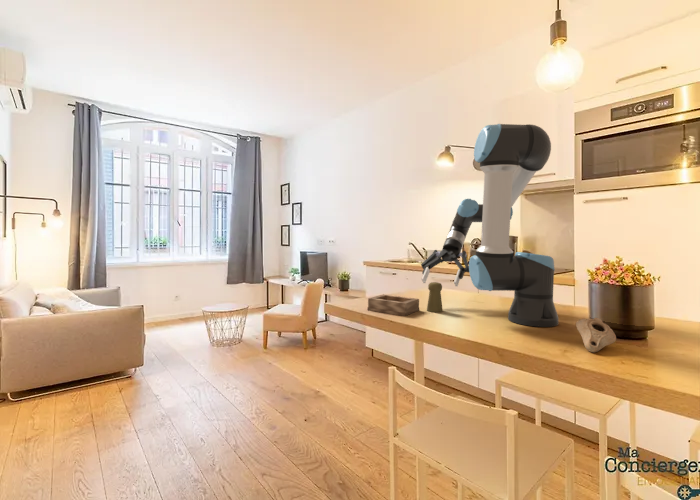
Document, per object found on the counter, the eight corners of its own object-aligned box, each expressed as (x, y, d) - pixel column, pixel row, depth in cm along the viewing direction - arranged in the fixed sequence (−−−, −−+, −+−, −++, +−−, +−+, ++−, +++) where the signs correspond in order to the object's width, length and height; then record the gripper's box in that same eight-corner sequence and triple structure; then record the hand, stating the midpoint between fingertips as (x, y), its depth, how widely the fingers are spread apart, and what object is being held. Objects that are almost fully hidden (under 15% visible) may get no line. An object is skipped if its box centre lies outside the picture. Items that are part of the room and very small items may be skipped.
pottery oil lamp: (569, 349, 91) (570, 322, 90) (578, 339, 99) (579, 314, 99) (611, 357, 85) (612, 328, 84) (617, 346, 93) (618, 319, 93)
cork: (431, 308, 139) (431, 280, 139) (445, 310, 135) (446, 282, 135) (423, 311, 134) (424, 282, 134) (438, 313, 131) (439, 284, 130)
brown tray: (419, 310, 136) (419, 298, 135) (404, 316, 126) (404, 303, 126) (383, 305, 145) (383, 294, 145) (367, 310, 136) (367, 298, 135)
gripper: (485, 250, 145) (472, 291, 134) (429, 248, 161) (413, 285, 150) (481, 238, 141) (468, 279, 130) (424, 237, 156) (407, 274, 145)
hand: (438, 282), depth 140 cm, fingers open, 13 cm apart
